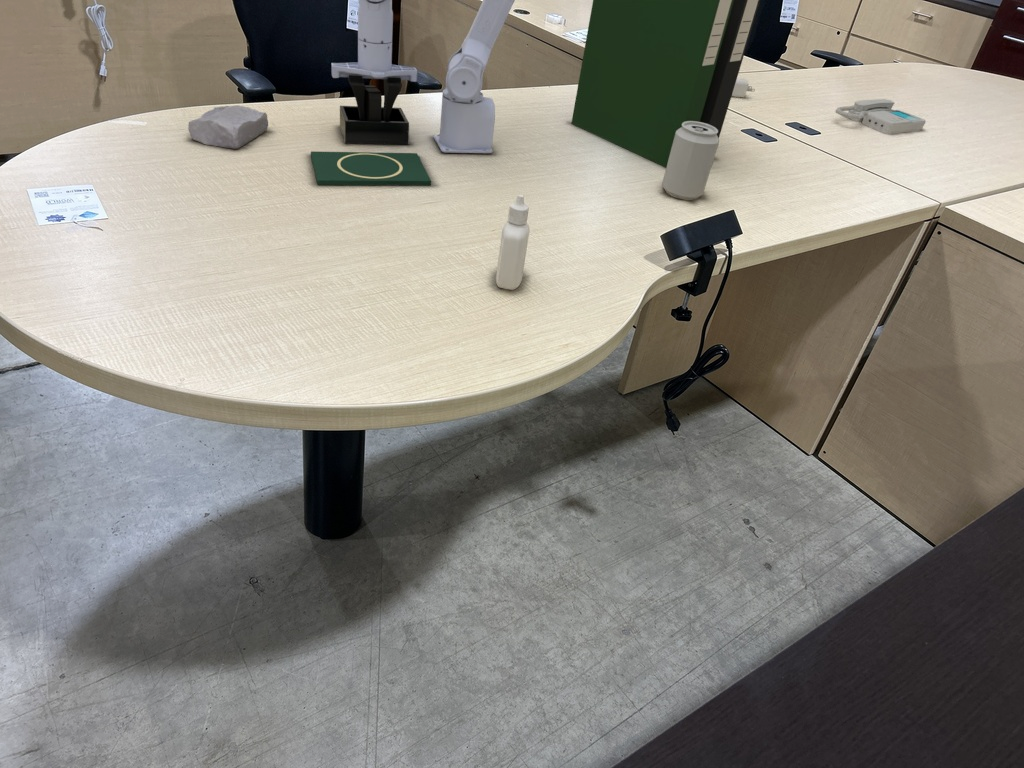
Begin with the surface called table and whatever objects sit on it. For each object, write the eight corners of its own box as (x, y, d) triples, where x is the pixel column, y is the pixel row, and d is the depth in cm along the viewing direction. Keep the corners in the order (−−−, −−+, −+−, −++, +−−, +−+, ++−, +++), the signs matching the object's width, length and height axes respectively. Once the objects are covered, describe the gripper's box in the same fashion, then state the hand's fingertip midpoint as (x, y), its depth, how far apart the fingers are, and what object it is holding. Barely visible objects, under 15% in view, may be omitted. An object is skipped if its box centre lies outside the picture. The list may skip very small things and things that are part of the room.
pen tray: (400, 129, 139) (401, 107, 136) (408, 145, 133) (409, 122, 130) (339, 127, 135) (339, 105, 133) (345, 143, 129) (345, 121, 127)
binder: (568, 123, 154) (599, -51, 135) (613, 115, 163) (648, -50, 144) (671, 170, 140) (722, -17, 121) (714, 157, 149) (767, -19, 130)
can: (704, 191, 133) (724, 125, 126) (699, 205, 128) (720, 137, 120) (664, 181, 135) (681, 115, 128) (657, 194, 129) (675, 126, 122)
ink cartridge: (381, 138, 132) (382, 92, 127) (369, 138, 131) (369, 92, 127) (373, 128, 136) (374, 84, 131) (361, 129, 135) (361, 84, 130)
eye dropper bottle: (482, 280, 97) (493, 195, 90) (509, 267, 101) (520, 184, 94) (508, 293, 95) (520, 207, 88) (534, 280, 99) (548, 196, 92)
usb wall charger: (723, 92, 192) (728, 76, 190) (747, 94, 193) (752, 78, 191) (728, 96, 189) (733, 80, 187) (753, 99, 190) (758, 83, 188)
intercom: (827, 101, 181) (886, 96, 193) (821, 119, 184) (879, 113, 196) (872, 119, 173) (931, 113, 185) (865, 137, 175) (923, 130, 188)
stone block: (186, 150, 122) (241, 150, 120) (178, 121, 120) (233, 120, 118) (224, 132, 132) (274, 131, 130) (216, 104, 129) (268, 103, 127)
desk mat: (416, 157, 129) (417, 152, 128) (431, 185, 120) (431, 180, 119) (310, 155, 123) (310, 150, 122) (317, 185, 114) (317, 179, 114)
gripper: (334, 43, 119) (335, 126, 127) (422, 48, 123) (418, 129, 132) (329, 32, 124) (331, 113, 132) (414, 37, 129) (410, 115, 137)
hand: (374, 120), depth 132 cm, fingers open, 4 cm apart
